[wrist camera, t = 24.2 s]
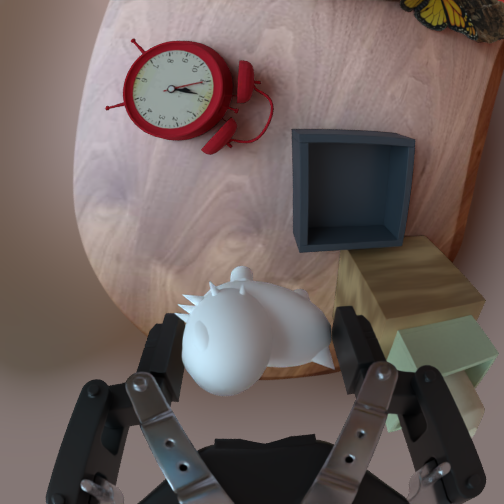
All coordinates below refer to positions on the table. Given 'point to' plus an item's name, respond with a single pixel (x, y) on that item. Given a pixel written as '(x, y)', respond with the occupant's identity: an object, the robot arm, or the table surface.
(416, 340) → the pale bin
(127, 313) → the table surface
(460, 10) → the butterfly
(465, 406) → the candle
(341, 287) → the stand
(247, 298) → the toy creature
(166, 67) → the alarm clock
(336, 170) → the dark bin
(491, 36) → the bark log
